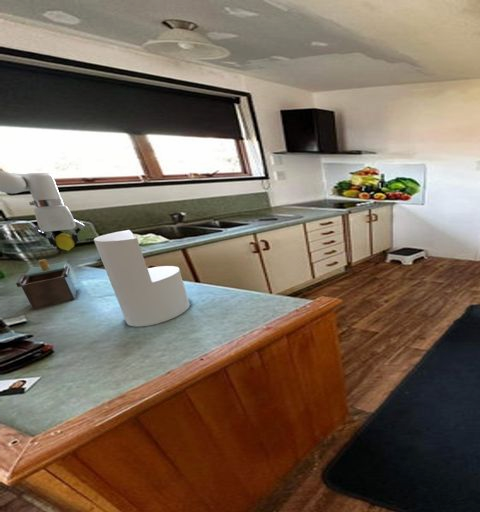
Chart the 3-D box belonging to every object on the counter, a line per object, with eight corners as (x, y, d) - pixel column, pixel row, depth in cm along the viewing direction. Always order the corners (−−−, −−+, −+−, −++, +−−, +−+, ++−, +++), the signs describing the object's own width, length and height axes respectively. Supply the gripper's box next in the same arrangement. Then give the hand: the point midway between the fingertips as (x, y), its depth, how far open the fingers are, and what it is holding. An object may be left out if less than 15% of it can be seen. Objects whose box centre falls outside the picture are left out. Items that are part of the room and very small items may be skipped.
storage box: (30, 310, 97) (15, 283, 93) (34, 300, 105) (21, 274, 101) (77, 299, 105) (66, 273, 101) (79, 290, 113) (68, 266, 109)
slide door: (26, 277, 101) (20, 265, 99) (31, 269, 109) (25, 258, 107) (64, 269, 107) (59, 258, 106) (66, 263, 115) (62, 252, 113)
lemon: (63, 252, 117) (56, 235, 115) (56, 251, 119) (49, 234, 117) (80, 249, 122) (73, 232, 120) (73, 248, 124) (66, 231, 122)
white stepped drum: (130, 333, 82) (95, 245, 73) (123, 313, 93) (92, 235, 84) (195, 310, 94) (173, 232, 85) (183, 295, 105) (161, 225, 96)
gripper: (15, 206, 106) (34, 250, 112) (79, 202, 118) (93, 242, 123) (18, 205, 111) (36, 247, 117) (79, 200, 123) (93, 239, 128)
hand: (65, 244), depth 120 cm, fingers closed on lemon, 5 cm apart
